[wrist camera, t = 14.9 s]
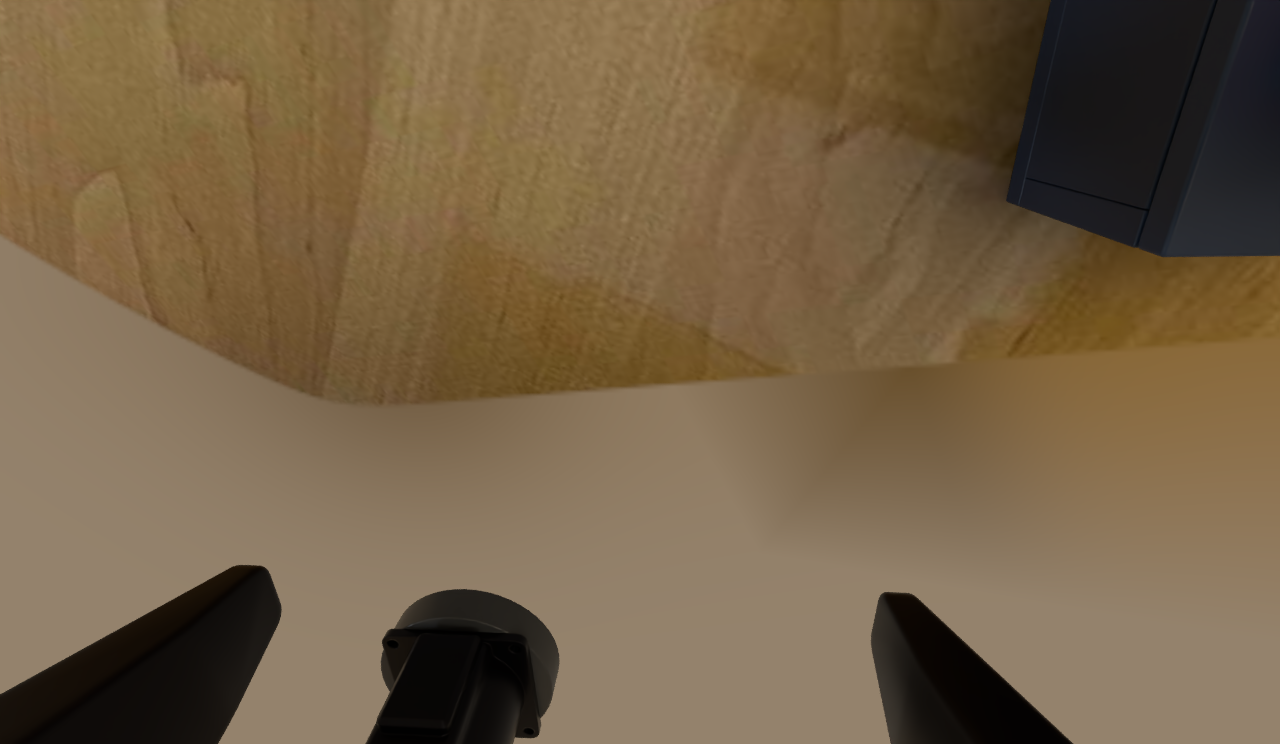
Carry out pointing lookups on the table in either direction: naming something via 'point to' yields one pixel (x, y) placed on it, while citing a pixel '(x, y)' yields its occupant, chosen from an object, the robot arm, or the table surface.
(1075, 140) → the dark blue square block
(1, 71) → the table surface
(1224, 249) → the lid
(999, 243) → the table surface
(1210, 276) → the table surface
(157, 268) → the table surface
